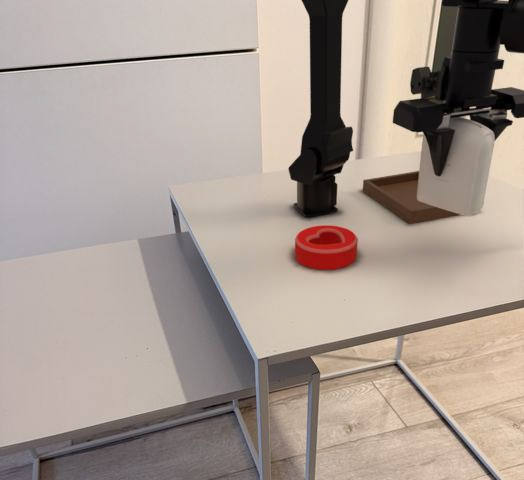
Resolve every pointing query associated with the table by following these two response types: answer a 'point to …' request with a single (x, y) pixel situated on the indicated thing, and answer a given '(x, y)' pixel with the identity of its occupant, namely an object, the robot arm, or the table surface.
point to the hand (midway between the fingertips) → (453, 172)
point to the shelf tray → (403, 197)
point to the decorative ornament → (326, 247)
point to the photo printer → (459, 170)
